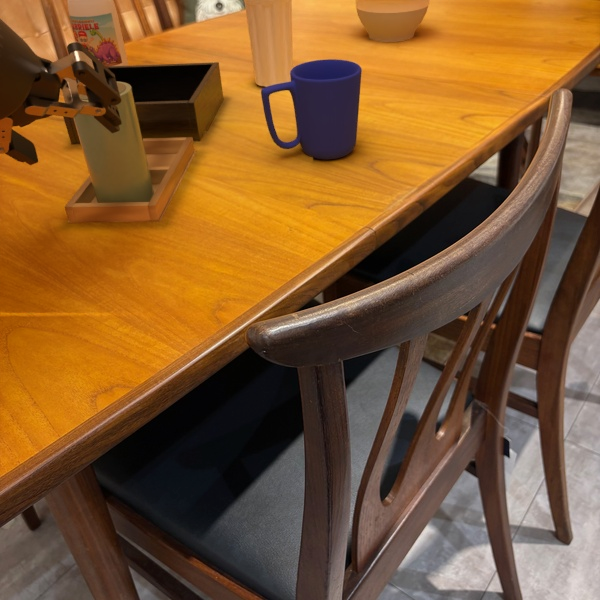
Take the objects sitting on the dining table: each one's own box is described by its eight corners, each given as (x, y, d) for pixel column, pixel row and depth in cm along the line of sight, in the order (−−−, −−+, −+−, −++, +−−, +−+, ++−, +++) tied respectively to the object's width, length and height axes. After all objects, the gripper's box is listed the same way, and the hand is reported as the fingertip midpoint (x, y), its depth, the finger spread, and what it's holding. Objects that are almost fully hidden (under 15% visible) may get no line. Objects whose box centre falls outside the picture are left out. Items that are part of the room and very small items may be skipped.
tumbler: (90, 214, 65) (56, 102, 58) (108, 188, 70) (80, 81, 63) (146, 213, 65) (120, 99, 57) (161, 187, 70) (138, 79, 62)
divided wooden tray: (68, 226, 64) (62, 206, 63) (121, 156, 79) (116, 139, 77) (161, 224, 63) (156, 205, 62) (197, 154, 78) (194, 137, 76)
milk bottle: (96, 71, 111) (65, -55, 99) (137, 71, 110) (110, -57, 98) (78, 85, 105) (42, -48, 93) (121, 85, 103) (90, -50, 92)
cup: (259, 94, 95) (249, -7, 87) (243, 80, 102) (233, -15, 93) (307, 85, 98) (302, -14, 89) (289, 72, 104) (283, -22, 95)
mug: (257, 153, 77) (248, 72, 71) (343, 134, 80) (341, 55, 75) (281, 178, 71) (274, 91, 65) (373, 156, 74) (374, 72, 68)
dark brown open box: (72, 147, 82) (59, 106, 79) (113, 103, 96) (104, 66, 93) (200, 144, 80) (193, 102, 77) (223, 99, 94) (218, 62, 91)
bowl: (450, 35, 117) (454, -14, 112) (386, 52, 110) (388, 0, 105) (394, 22, 128) (396, -24, 123) (333, 36, 121) (332, -11, 116)
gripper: (28, -41, 42) (132, 77, 57) (-151, 36, 43) (-2, 130, 59) (52, 54, 40) (152, 148, 56) (-134, 130, 42) (14, 201, 58)
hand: (73, 139), depth 57 cm, fingers open, 8 cm apart
